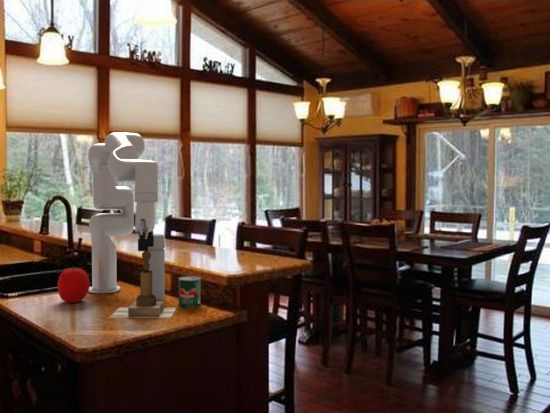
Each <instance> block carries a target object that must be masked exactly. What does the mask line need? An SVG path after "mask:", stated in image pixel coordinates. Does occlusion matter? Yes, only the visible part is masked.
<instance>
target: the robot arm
mask: <svg viewBox="0 0 550 413" xmlns="http://www.w3.org/2000/svg"><path fill="white" fill-rule="evenodd" d="M145 147H146V146H145V141H144V138H143V136H142V135H140V134H139V133H135V132H111V133H109V134H107V136H106V137H105V139H104V143H95V144H92V145H91V146H90V147H89V149H88V154H87V158H88V164H89V166H90V169H91V173H92V200H93V201H92V202H93V206H94V208H95V209H97V210H100V211H101V210H102V211H110V210H111V211H113V210H115V211H117V210H120V212H106V213H105V212H103V213H100V212H99V213H96V214H93V215H92V216H91V217H90V219H89V224H88V226H89V232H90V238H91V239H90V240H91V276H92V277H91V280H92V281H91V282H92V283H91V285H92V286H90V287H89V290H88V293H91V294H111V293H116V292H119V291H121V286H120V285H118V284H117V280H118V279H117V277H118V276H117V246H116V244H115V243H114V241H113V240H112V239H111V237H124V236H129V235H132V233H133V232H136V233H138V236H137V251H138V252H144V251H148V247H153V246H154V235H153V234H154V230H155V225H156V224H155V223H156V222H155V220H156V209H155V208H156V206H155V203H158V202H159V201H158V200H159V197H158V195H159V190H158V189H159V186H158V185H159V184H158V183H159V164H158V162H156V161H155V160H149V159H139V158H140V157H141V156H142V155H143V153H144V151H145ZM116 181H117V182H122V183H123V182H127V183H128V182H134V193H133V191H132V189H131V188H130V187H128V186H123V185H121V186H118V185H117V186H116ZM135 203H136V207H135Z"/></svg>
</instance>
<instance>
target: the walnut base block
mask: <svg viewBox="0 0 550 413" xmlns="http://www.w3.org/2000/svg"><path fill="white" fill-rule="evenodd" d="M128 307H129V308H128V317H159V316H160V315H161V313H162V312H163V310H164V307H165V300H156V304H155V305H153V306H138V305H136V300H134V301H133V302H132V303H131V304H130V306H128Z"/></svg>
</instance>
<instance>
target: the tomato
mask: <svg viewBox="0 0 550 413" xmlns="http://www.w3.org/2000/svg"><path fill="white" fill-rule="evenodd" d="M90 282H91V281H90V276H89V275H88V273H87V271H85V270H84V269H82V266H81V267H75V266H72V267H69V268H65V269H64V270H62V272H61V273H60V275H59V277H58V280H57V291H58V295H59V297H60V299H61V300H62V301H63V302H66V303H71V304H74V303H78V302H81V301H82V300H84V299H85V298H86V297H87V295H88V293H89V291H88V290H89V288H90V287H91V286H90V285H91V283H90Z"/></svg>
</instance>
